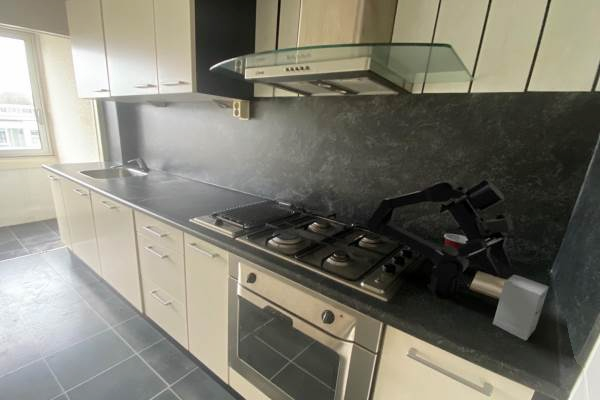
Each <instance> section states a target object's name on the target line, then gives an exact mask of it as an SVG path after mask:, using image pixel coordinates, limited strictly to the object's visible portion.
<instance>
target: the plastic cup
mask: <svg viewBox="0 0 600 400" xmlns="http://www.w3.org/2000/svg"><path fill="white" fill-rule="evenodd" d="M443 238H444V243H445V246H446V245H448V244H449V245H451V246H453V247H454V248H456V249H458V246H460V245H462V244H465V243H466V242H465V241H467V238H466V237H465V235H461V234H454V233H445V234H444V235H443ZM466 256H469V255H466Z"/></svg>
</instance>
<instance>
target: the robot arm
mask: <svg viewBox="0 0 600 400" xmlns="http://www.w3.org/2000/svg"><path fill="white" fill-rule="evenodd" d="M460 198H463V199H460ZM453 199H454V200H453ZM459 199H460V200H459ZM450 200H452V201H450ZM448 201H450V202H448ZM503 201H505V196H504V194H503V193H502V191H501V190H500V189H499V188H498V187H497V186H495V185H494V184H493V183H492V182H490V180H489V179H487V178H485V179H483V180H481V181H480V182H479V183H478V184H476V185H474V186H472V187H471V188H467V187H464V186H461V185H459V184H458V183H457V182H455V181H453V180H451V179H448V180H443V181H439V182H437V183H435V184H432V185H430V186H428V187H426V188H423V189H422V190H421V189H420V190H417V191H413V192H410V193H406V194H401V195H398V196H391V197H386V198H384V199H383V200H382V201H381V202H380V204H379V206H378V207H377V208H376V210H374V212H373V213H372V215H371V217H369V218H368V219H367V222H366V227H367V229H368V231H369V232H370V233H371V234H373V235H377V236H379V237H384V238H385V237H386V238H389V239H390V238H391V239H392V240H394V241H396V242H398V243H400V244H401V245H403V246H405V247H408V248H409V249H411V250H413V251H414V252H416V253H418V254H421V255H422V256H424V257H426V258H427V259H429V260H431V262H433V264H434V266H433V267H432V268H431V273H432V274H431V280H430V283H428V284H427V285H426V286H427V288H428V289H429V291H431V293H432V294H433V295H434V296H435V297H436V298H443V299H444V298H445V299H458V295H457V294H456V293H457V290H458V284H459V276H460V275H462V274H463V273H464V271H465V270H466V269H467V268H468V267H469V264H470V262H471V263H473V264H475V265H476V266H478V268H479V267H480V268H481V269H482V270H484V271H485V272H486V273H487V274H490V275H493V276H494V277H500V274H499V271H498V269H497V268H496V265H495V263H494V262H493V260H492V258H491V256H490V255H492V256H493V257H494V258H495V259H496V260H498V262H500V263H501V264H502V265H503V266H504V267H505V268H511V267H512V263H511V261H510V257H509V255H508V252H507V249H506V246H505V245H506V243H507V240H508V237H507V236H508V235H509V234H508V233H510V232H511V231H512V230H514V227H513V223H514V220H513V219H512V218H511V216H509V215H507V214H506V213H499V214H496V216H495V218H492V219H486V218H485V216H479V214H478V213H477V212H476V211H475V210H480V211H482V212H483V211H485V210H487V209H490V208H492V207H493V206H495V205H497V204H499V203H500V202H503ZM440 202H441V204H440V205H441V207H440V208H439V209H440V210H439V213H440V214H444V213H447V212H448V213H449V215H450V216H451V218H452V219H453V220H454V222H455V223H456V225H457V226H458V227H456V230H457V232H460V231H461V232H462V234H463V236H465V237H466V238H467V241H465V242H466V243H465V244H462V245H460V246H458V249H456V248H454V247H453V246H451V245H449V244H448V245H446V244H445V246H444V247H442V246H439V245H436V244H435V243H432V242H430V241H429V240H427V239H424V238H423V237H421V236H418V235H417V234H414V233H413V232H410V231H408V230H407V229H404V228H402V227H400V226H398V225H397V223H396V222H395V221H394V220H393V219H392V218H393V216H394V211H395V209H397V208H398V209H399V208H402V207H406V206H412V205H415V204H420V203H440ZM443 202H444V203H443ZM445 202H448V203H445ZM466 255H469V256H466ZM469 261H470V262H469Z"/></svg>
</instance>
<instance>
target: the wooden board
mask: <svg viewBox="0 0 600 400" xmlns="http://www.w3.org/2000/svg"><path fill="white" fill-rule="evenodd" d="M506 280H507V279H506V278H504V277H503V278H502V277H500V276H497V277H494V276H493V275H491V274H490V273H488V272H482V271H480V270H477V271H476V273H475V276H474V277H473V280H472V282H471V284H470V286H469V290H471V291H474V292H477V293H480V294H482V295H485V296H489V297H490V298H491V297H492V298H494V299H497V300H498V301H499V300H500V296H501V293H502V289H503V285H504V282H505V281H506Z"/></svg>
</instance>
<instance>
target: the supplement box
mask: <svg viewBox="0 0 600 400" xmlns="http://www.w3.org/2000/svg"><path fill="white" fill-rule="evenodd" d="M548 291H549V286H547V285H546V284H542V283H539V282H537V281H534V280H531V279H529V278H525V277H523V276H520V275H517V274H513V275H512V276H510V277H509V278H507V279H506V281H505V282H504V285H503V289H502V293H501V296H500V300H499V299H498V304H497V307H496V308H497V309H496V311H495V314H494V315H495V316H494V318H493V322H492V325H494V326H496V327H497V328H500V329H502V330H504V331H506V332H507V333H509V334H511V335H513V336H516V337H518V338H519V339H521V340H523V341H528V338H529V337H530V336H531V335H532V333H533V332H534V331H535V330H536V328H537V325H538V321H539V319H540V315H541V312H542V309H543V308H544V307H543V306H544V303H545V299H546V296H547V294H548Z"/></svg>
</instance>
